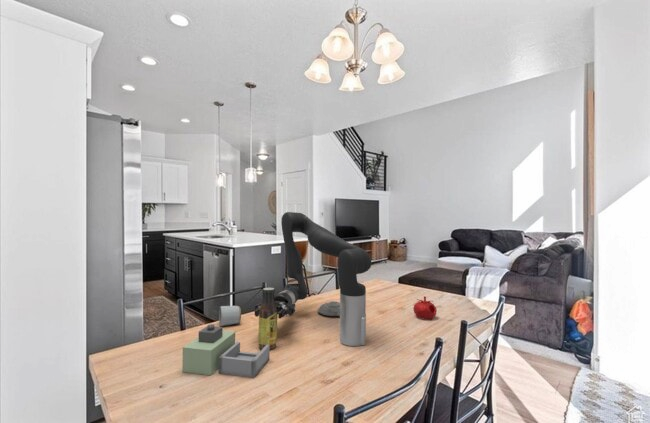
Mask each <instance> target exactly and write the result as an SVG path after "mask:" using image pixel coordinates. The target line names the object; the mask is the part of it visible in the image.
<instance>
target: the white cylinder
mask: <svg viewBox="0 0 650 423" xmlns="http://www.w3.org/2000/svg"><path fill="white" fill-rule="evenodd" d="M241 320H242V309H241V307H240V306H239V305H221V306H219V311H218V323H219V327H225V326H230V325H237V324H239V323H241Z"/></svg>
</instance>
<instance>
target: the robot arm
mask: <svg viewBox="0 0 650 423" xmlns="http://www.w3.org/2000/svg"><path fill="white" fill-rule="evenodd" d="M280 222H281V231H282V237H283V243H284V248H285V252H286V266H287V267H286V270H287V271H286V272H287V278H289V279H292V280H293V279H294V280H296V281H297V283H288V284H286V285H285V286H284V289H283V290H282V291H280V292H279V293H277V294H275V295H274V302H275V305H276V309H277V319H280V320H281V319H282V318H284V317H286V316H287V315H288V316H293V315H294V313H295V312H296V303H297V301H299V300H301V301H302V300H305V299H306V298H308V297H307V296H308V295H309V294H308V293H309V290H308V287H307V283H306V280H305V277H304V267H303V263H304V262H303V258H302V255H301V252H300V251H299V249H298V247H297V245H296V243H295V240H294V236H293V235H294V234H293V233H302V234H303V235H305V236H306V237H307V241H308V244H309V245H311V246H312V248H314V249H316V250H317V251H319V252H320V253H322V254H324V255H327V256H331V257H334V258H335V257H336V258H337V283H338V287H339V303H340V316H339V342H340V343H341V344H342V345H344V346H348V347H359V346H366V340H367V339H366V338H367V313H366V310H367V309H366V303H367V302H366V300H367V298H366V297H367V296H366V295H367V293H366V292H367V291H366V285H365V284H362V283H360V282H358V278H357V277H358V276H357V275H360V274H364V273H366V272H368V271H369V270H370V269H371V267H372V258H371V255H370V254H369V253H368V251H366V250H365V249H363V248H362V247H359V246H357V245H354V244H352V243H351V242H350V243H349V241H346V240H344V239H343V238H341V237H339V236H337V235H336V234H334V233H333V232H331V231H330V230H328V229H327V228H325V227H323V226H321V225H320V224H318V223H316V222H314V221H313V220H311V219H310V218H309V216H307V215H305V214H304V213H302V212H294V211H293V212H292V211H287V212H285V213H283V214H282V217H281V221H280ZM262 303H263V301H259V303H257V304H255V305H254V317H258V318H259V310H260V307H261V305H262Z"/></svg>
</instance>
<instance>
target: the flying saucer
mask: <svg viewBox="0 0 650 423" xmlns="http://www.w3.org/2000/svg"><path fill="white" fill-rule="evenodd" d="M317 312H318V313H319V314H321V315H323V316H327V317H340V301H339V302H338V301H333V300H332V301H329V302H328V301H327V302H325V303H322V304H321V305H320V306H319V307H318V309H317Z"/></svg>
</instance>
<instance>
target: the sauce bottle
mask: <svg viewBox="0 0 650 423" xmlns="http://www.w3.org/2000/svg"><path fill="white" fill-rule="evenodd" d="M275 291H276V289H275V287H264V288H262V294H263V296H262V298H263V299H262V302H263V303H262V305H261V307H260V310H259V316H258V339H257V342H258V348H259V349H261V350H262V349H263V348H264V347H265V346H266V345H270V350H273V349H275V348H276V347H277V342H278V314H277V309H276V305H275V302H274V296H275Z"/></svg>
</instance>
